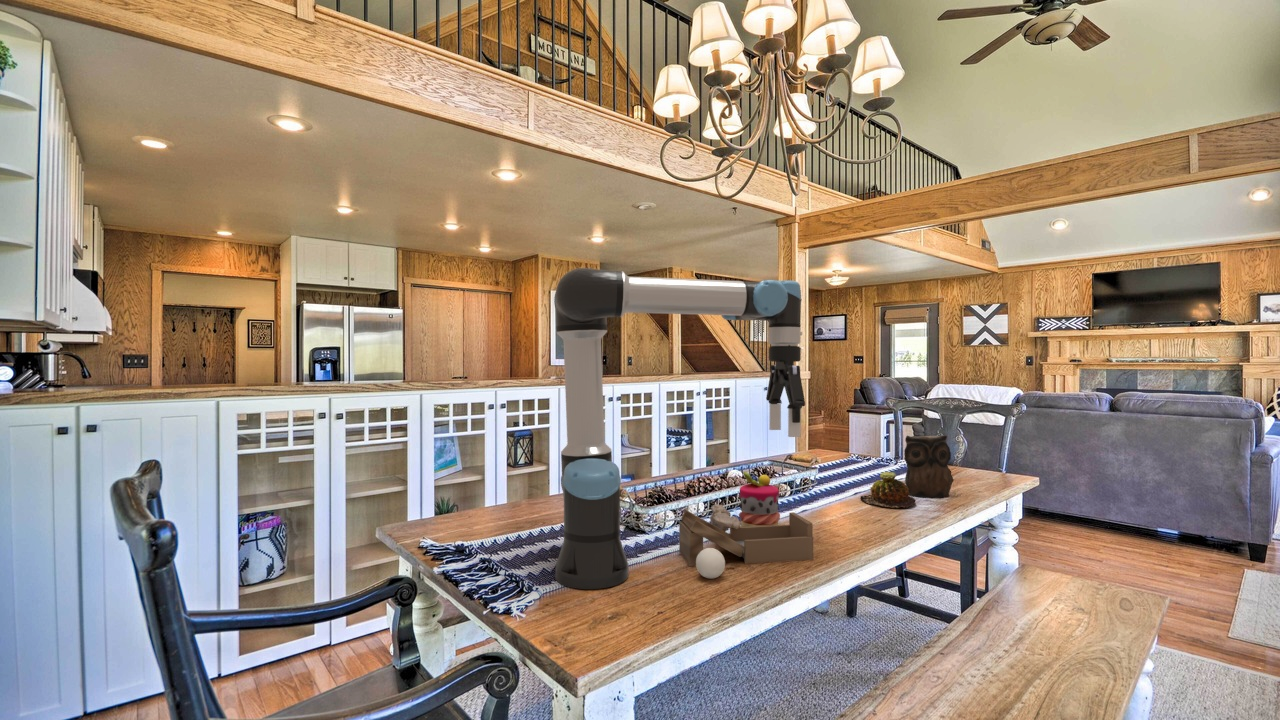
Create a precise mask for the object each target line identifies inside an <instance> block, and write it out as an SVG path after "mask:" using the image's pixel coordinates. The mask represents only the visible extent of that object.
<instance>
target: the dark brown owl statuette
mask: <svg viewBox="0 0 1280 720" xmlns="http://www.w3.org/2000/svg"><path fill="white" fill-rule="evenodd" d="M947 438H948V436H947V435H944V434H943V435H927V436H926V435H921V436H920V435H919V436H918V435H917V436H915V435H914V436H910V435H906V437H905V444H906V445H905V447H904V450H903V452H904V461H905V464H906V467H907V470H906V474H905V477H904V480H905V481H904V483H905V485H906V486H908V489H909V490H908V493H910V494H909V496H910V497H913V498H923V499H924V498H931V499H932V498H937V499H940V498H941V499H942V498H946V497H949V496H950V491H951V488H952V484H953V482H954V478H953V475H952V470H951V469H950V468H949V466H948V463H949V462H950V460H951V458H952V453H951V448H950V446H949V445H948V443H947Z"/></svg>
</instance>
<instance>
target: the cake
mask: <svg viewBox="0 0 1280 720" xmlns="http://www.w3.org/2000/svg"><path fill="white" fill-rule="evenodd" d="M743 476H744V478H745V479H746V483H747V484H744V485H741V486H740V487H739V501H740V503H739V509H740V511H741V512H740V513H739V514H738V518H740V527H753V526H772V525H779V521H780V518H781V514H780V512H779V509H780V508H779V507H780V506H779V498H780V490H779V488H778V487H776V486H775V485H772V484H770V483H771V478H770V476H768V475H767V474H762V475H760V476H759V477H758V479H757V480H758V481H757V480H755V479H753V477H752V476H751V475H750V474H749V473H748V472H747V471H743Z"/></svg>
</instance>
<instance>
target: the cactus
mask: <svg viewBox="0 0 1280 720" xmlns="http://www.w3.org/2000/svg"><path fill="white" fill-rule="evenodd" d="M896 477H897V474H896V472H893V471H891V472H889V471H885V472H882V473H880V475H879V478H881V479H877V480H875V481H874V483H872V486H870V487H869V489H870V490H869V491H870V494H868V495H861V496H860V500H861V501H863V502H864V503H866V504H868V505H869V504H870V505H875V506H880V507H886V508H899V509H901V507H902V508H904V509H905V508H907V509H908V508H909V507H911V506H912V505H914V504H916V499H915V497H914V496H909V494H910V493H908V490H909V489H908V486H906V484H905V482H903V481H902V480H898V479H897V478H896Z"/></svg>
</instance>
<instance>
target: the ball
mask: <svg viewBox="0 0 1280 720" xmlns="http://www.w3.org/2000/svg"><path fill="white" fill-rule="evenodd" d="M695 567H696V570H697V571H698V573H699V574H700V575H701V576H702V577H704V578H706V579H712V580H713V579H715V578H716V579H717V578H718V577H719V576H721V575H722V574H723V573H724V571H725V569H726V568H725V567H726V560H725V557H724V555H723V554H722V552H721V551H720V550H718V549H716V548H713V547H707V548H703V550H702V551H701V552H700V553H699V554H698V556H697V558H696V566H695Z"/></svg>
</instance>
